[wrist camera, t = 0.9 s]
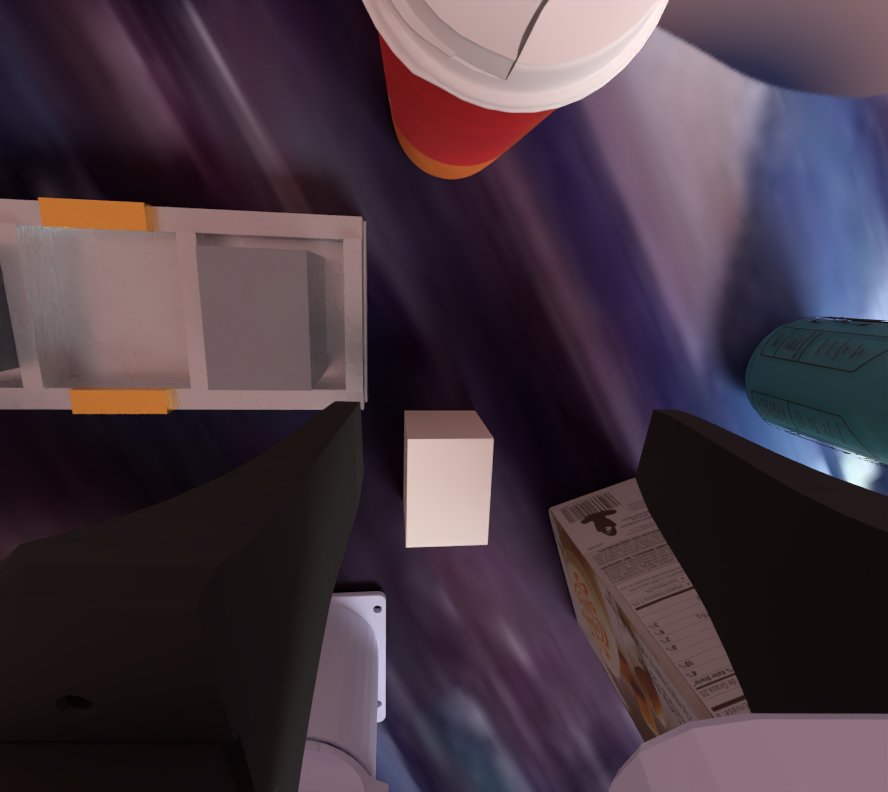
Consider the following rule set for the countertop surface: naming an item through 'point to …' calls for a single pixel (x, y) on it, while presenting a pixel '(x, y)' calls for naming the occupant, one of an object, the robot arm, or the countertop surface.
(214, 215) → the rack
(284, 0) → the countertop surface
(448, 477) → the white rectangular carton
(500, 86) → the paper cup
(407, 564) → the countertop surface
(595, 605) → the coffee box
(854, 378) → the beverage bottle
